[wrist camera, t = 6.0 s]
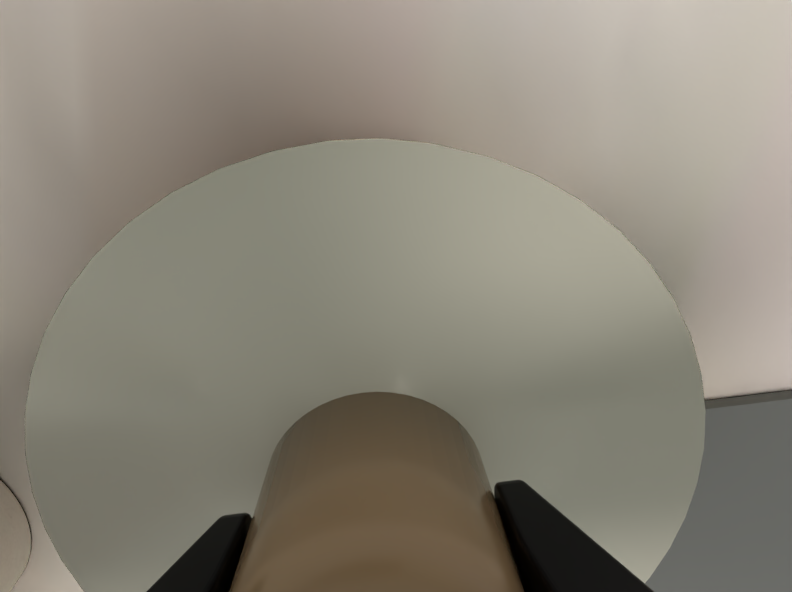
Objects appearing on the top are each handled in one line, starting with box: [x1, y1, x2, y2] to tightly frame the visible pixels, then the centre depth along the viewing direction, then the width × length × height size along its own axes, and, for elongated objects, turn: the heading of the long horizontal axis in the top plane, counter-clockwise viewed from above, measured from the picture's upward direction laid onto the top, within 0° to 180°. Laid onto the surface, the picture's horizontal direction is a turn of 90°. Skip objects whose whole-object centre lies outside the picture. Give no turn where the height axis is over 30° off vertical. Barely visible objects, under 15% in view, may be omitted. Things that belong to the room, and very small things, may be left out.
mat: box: [645, 390, 792, 592], centre depth 16 cm, size 12×12×1 cm
